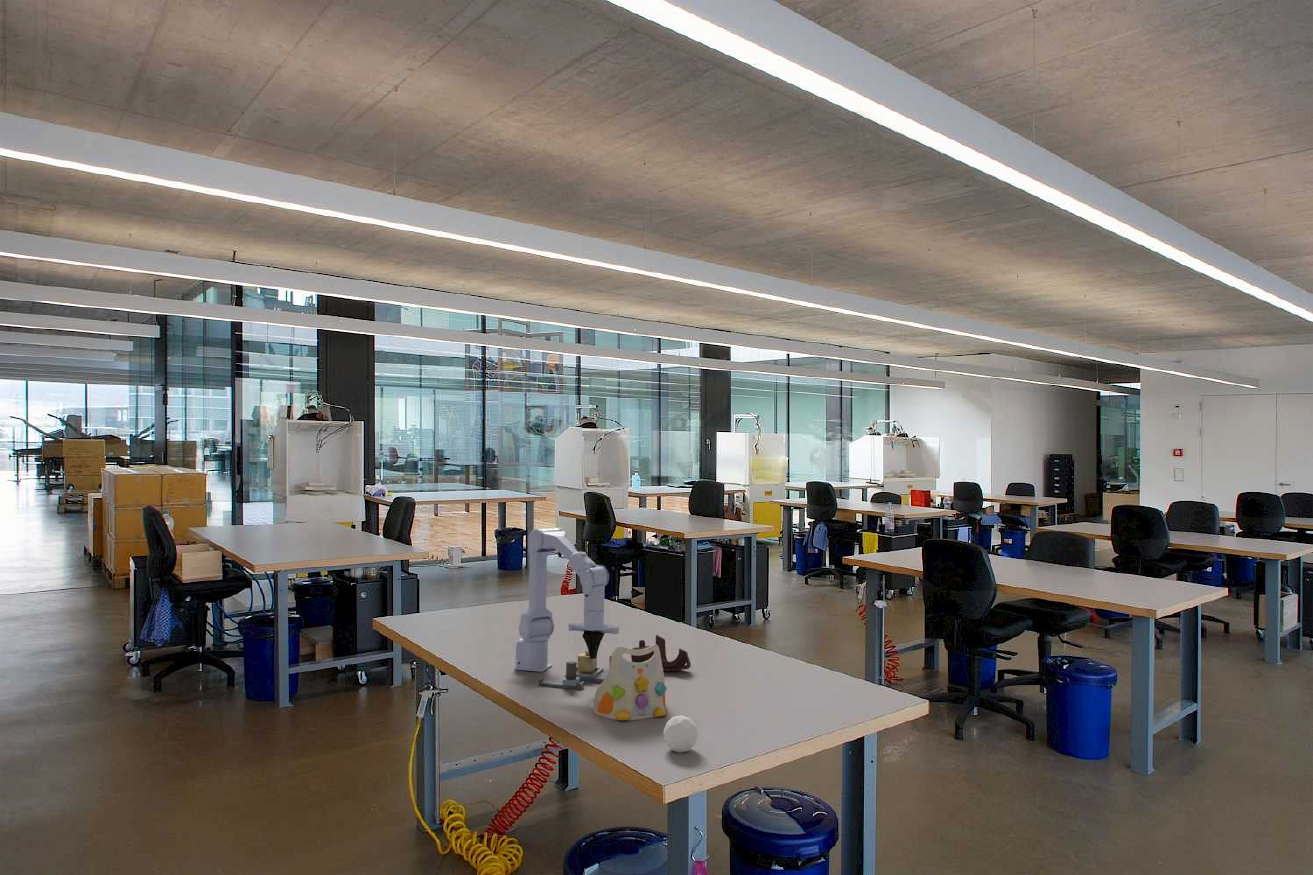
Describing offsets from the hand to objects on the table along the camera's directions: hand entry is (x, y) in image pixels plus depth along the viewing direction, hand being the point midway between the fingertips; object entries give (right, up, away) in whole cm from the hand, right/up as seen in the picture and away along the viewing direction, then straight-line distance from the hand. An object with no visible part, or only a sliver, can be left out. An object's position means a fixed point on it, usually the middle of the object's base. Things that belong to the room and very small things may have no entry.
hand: (593, 657), depth 224 cm
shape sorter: (+13, -9, -20) cm, 26 cm away
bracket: (+20, -10, +22) cm, 31 cm away
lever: (-6, -9, +1) cm, 11 cm away
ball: (+23, -9, -45) cm, 51 cm away
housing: (-3, -8, +12) cm, 15 cm away
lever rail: (-9, -9, +2) cm, 13 cm away
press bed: (-1, -9, +12) cm, 15 cm away
